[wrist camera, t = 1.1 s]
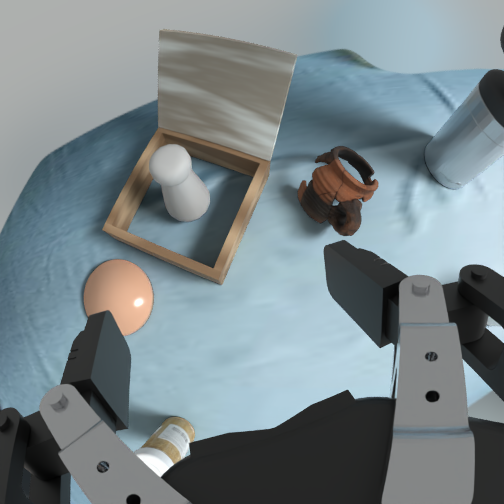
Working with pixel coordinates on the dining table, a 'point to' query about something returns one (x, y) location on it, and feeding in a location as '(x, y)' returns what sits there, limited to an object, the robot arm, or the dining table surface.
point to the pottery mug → (338, 190)
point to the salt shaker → (179, 183)
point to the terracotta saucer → (120, 294)
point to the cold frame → (211, 127)
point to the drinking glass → (492, 322)
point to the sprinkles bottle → (167, 445)
